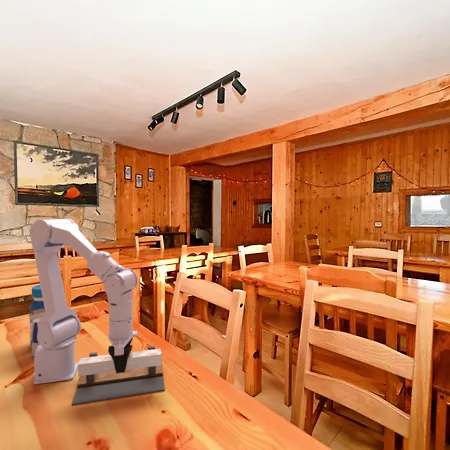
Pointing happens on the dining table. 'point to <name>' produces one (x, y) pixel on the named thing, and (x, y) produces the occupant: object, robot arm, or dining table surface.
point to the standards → (120, 375)
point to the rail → (107, 365)
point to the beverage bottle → (36, 307)
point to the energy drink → (35, 335)
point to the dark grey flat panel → (118, 390)
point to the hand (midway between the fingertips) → (121, 368)
